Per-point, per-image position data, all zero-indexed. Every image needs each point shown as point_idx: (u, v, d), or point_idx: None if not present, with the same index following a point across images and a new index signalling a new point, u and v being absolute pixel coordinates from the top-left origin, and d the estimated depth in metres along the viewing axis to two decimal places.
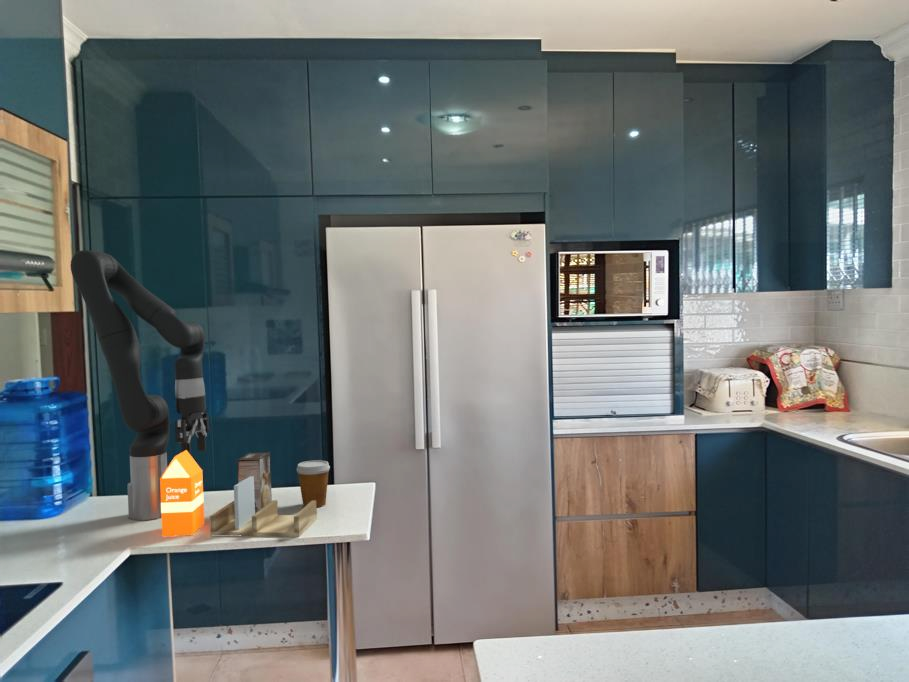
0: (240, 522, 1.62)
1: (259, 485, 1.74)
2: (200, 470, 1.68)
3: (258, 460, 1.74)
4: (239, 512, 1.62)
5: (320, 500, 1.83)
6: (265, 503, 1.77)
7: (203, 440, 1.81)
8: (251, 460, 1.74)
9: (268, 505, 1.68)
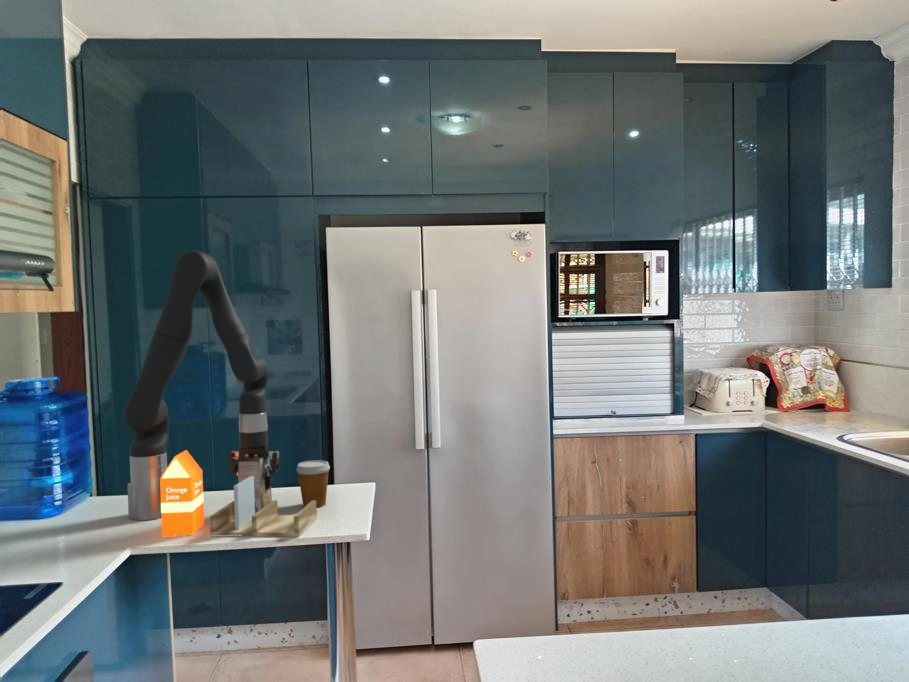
0: (240, 522, 1.62)
1: (258, 485, 1.74)
2: (200, 470, 1.68)
3: (258, 460, 1.74)
4: (239, 512, 1.62)
5: (320, 500, 1.83)
6: (265, 503, 1.77)
7: None
8: (251, 460, 1.74)
9: (268, 505, 1.68)
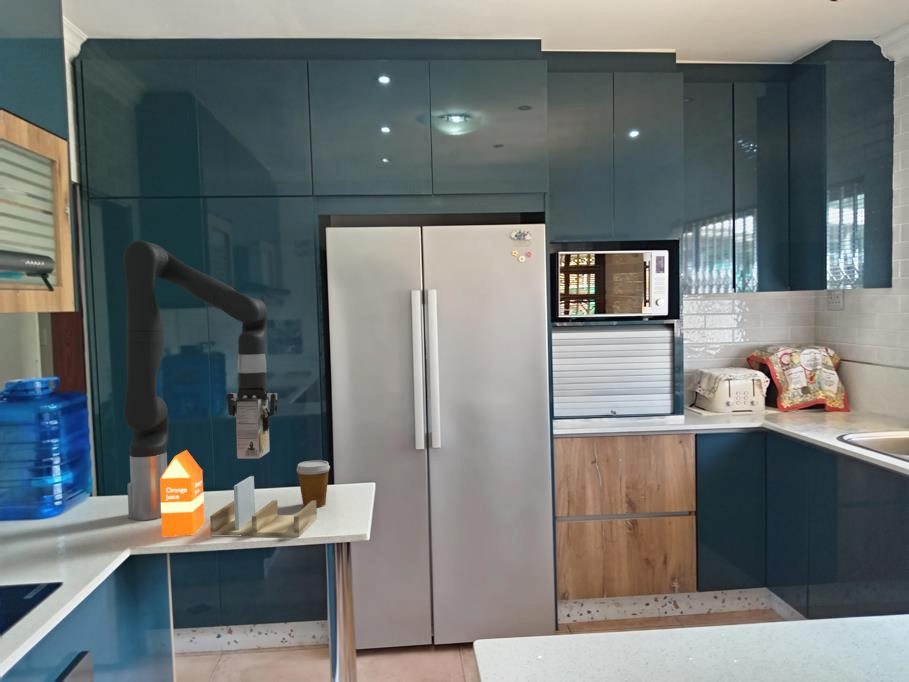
0: (240, 522, 1.62)
1: (256, 426, 1.73)
2: (200, 470, 1.68)
3: (256, 400, 1.73)
4: (239, 512, 1.62)
5: (320, 500, 1.83)
6: (263, 445, 1.77)
7: None
8: (249, 400, 1.73)
9: (268, 505, 1.68)
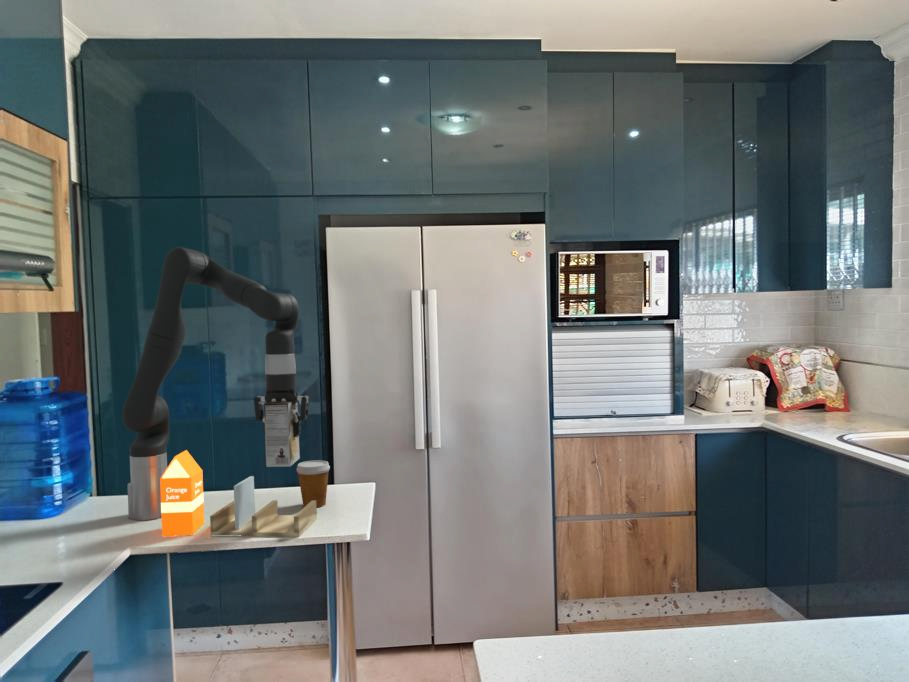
0: (240, 522, 1.62)
1: (287, 431, 1.60)
2: (200, 470, 1.68)
3: (286, 404, 1.60)
4: (239, 512, 1.62)
5: (320, 500, 1.83)
6: (293, 452, 1.64)
7: None
8: (279, 404, 1.60)
9: (268, 505, 1.68)
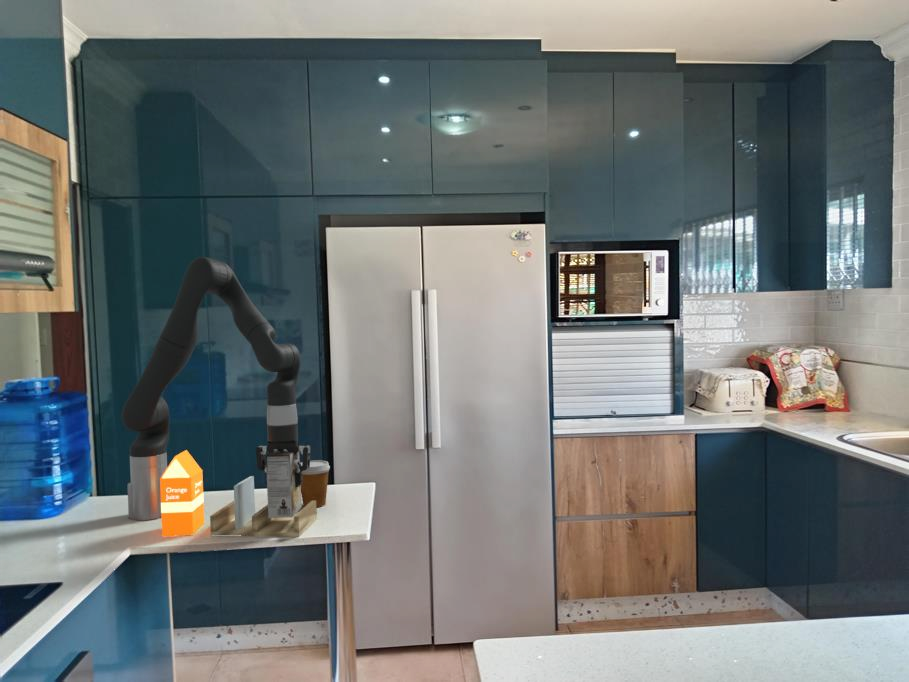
0: (240, 522, 1.62)
1: (289, 482, 1.61)
2: (200, 470, 1.68)
3: (288, 455, 1.61)
4: (239, 512, 1.62)
5: (320, 500, 1.83)
6: (295, 502, 1.64)
7: None
8: (281, 455, 1.61)
9: None
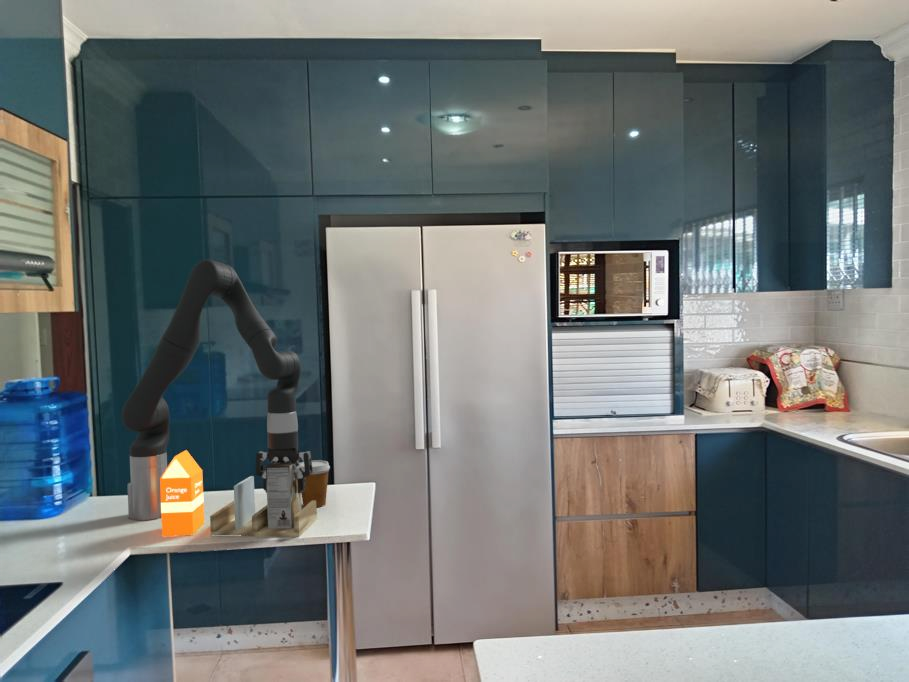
0: (240, 522, 1.62)
1: (288, 494, 1.61)
2: (200, 470, 1.68)
3: (288, 466, 1.61)
4: (239, 512, 1.62)
5: (320, 500, 1.83)
6: (295, 513, 1.64)
7: None
8: (280, 466, 1.61)
9: None
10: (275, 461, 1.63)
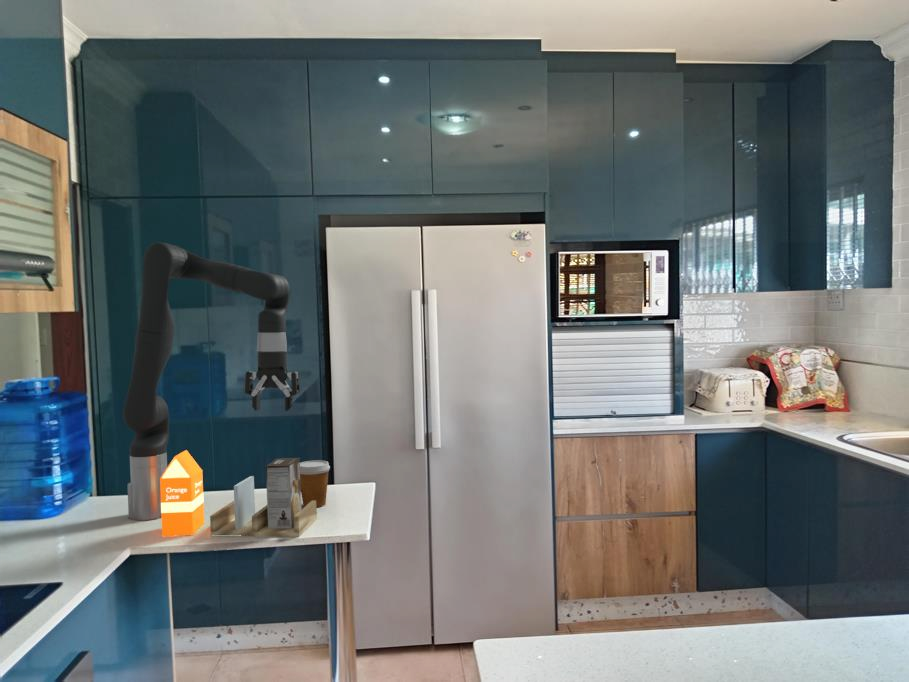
0: (240, 522, 1.62)
1: (288, 494, 1.61)
2: (200, 470, 1.68)
3: (288, 466, 1.61)
4: (239, 512, 1.62)
5: (320, 500, 1.83)
6: (295, 513, 1.64)
7: (259, 399, 1.73)
8: (280, 466, 1.61)
9: None
10: (264, 379, 1.69)
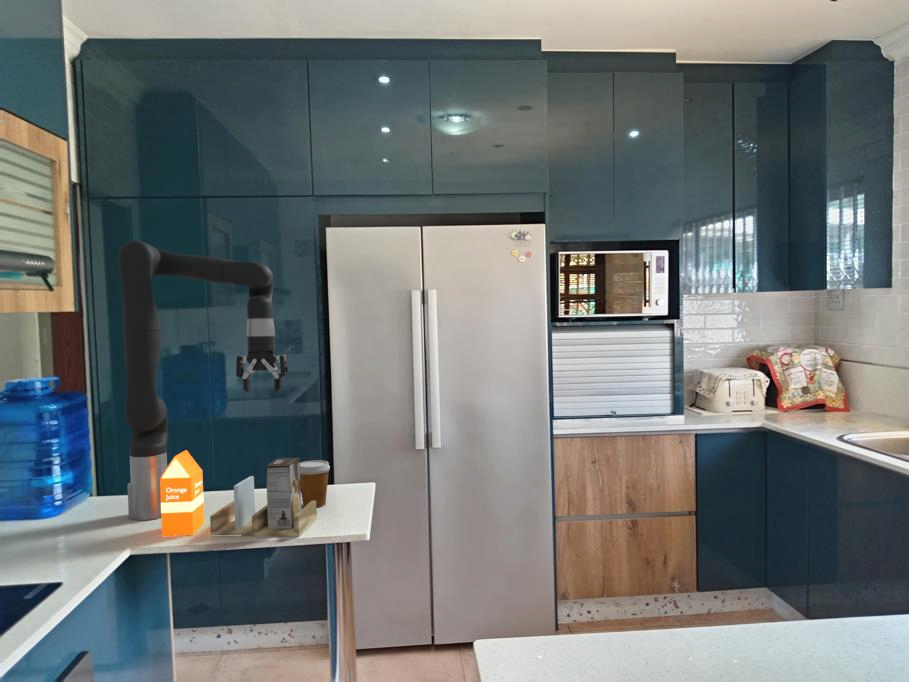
0: (240, 522, 1.62)
1: (288, 494, 1.61)
2: (200, 470, 1.68)
3: (288, 466, 1.61)
4: (239, 512, 1.62)
5: (320, 500, 1.83)
6: (295, 513, 1.64)
7: (250, 381, 1.84)
8: (280, 466, 1.61)
9: None
10: (254, 363, 1.81)
